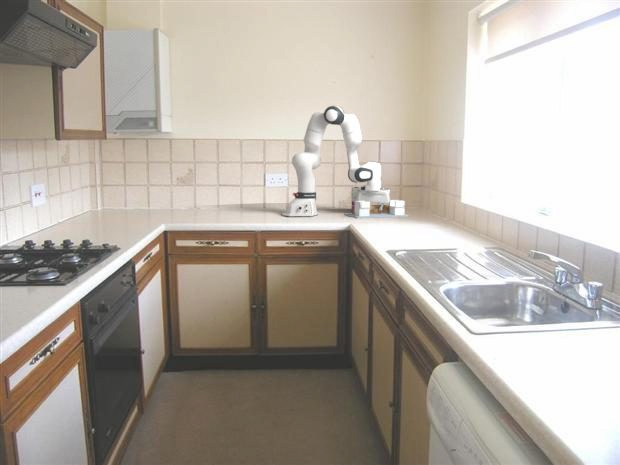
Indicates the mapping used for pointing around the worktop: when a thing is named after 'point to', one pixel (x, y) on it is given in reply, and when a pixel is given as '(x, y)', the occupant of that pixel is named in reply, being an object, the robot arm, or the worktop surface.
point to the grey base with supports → (363, 212)
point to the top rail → (377, 209)
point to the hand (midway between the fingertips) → (373, 210)
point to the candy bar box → (354, 195)
